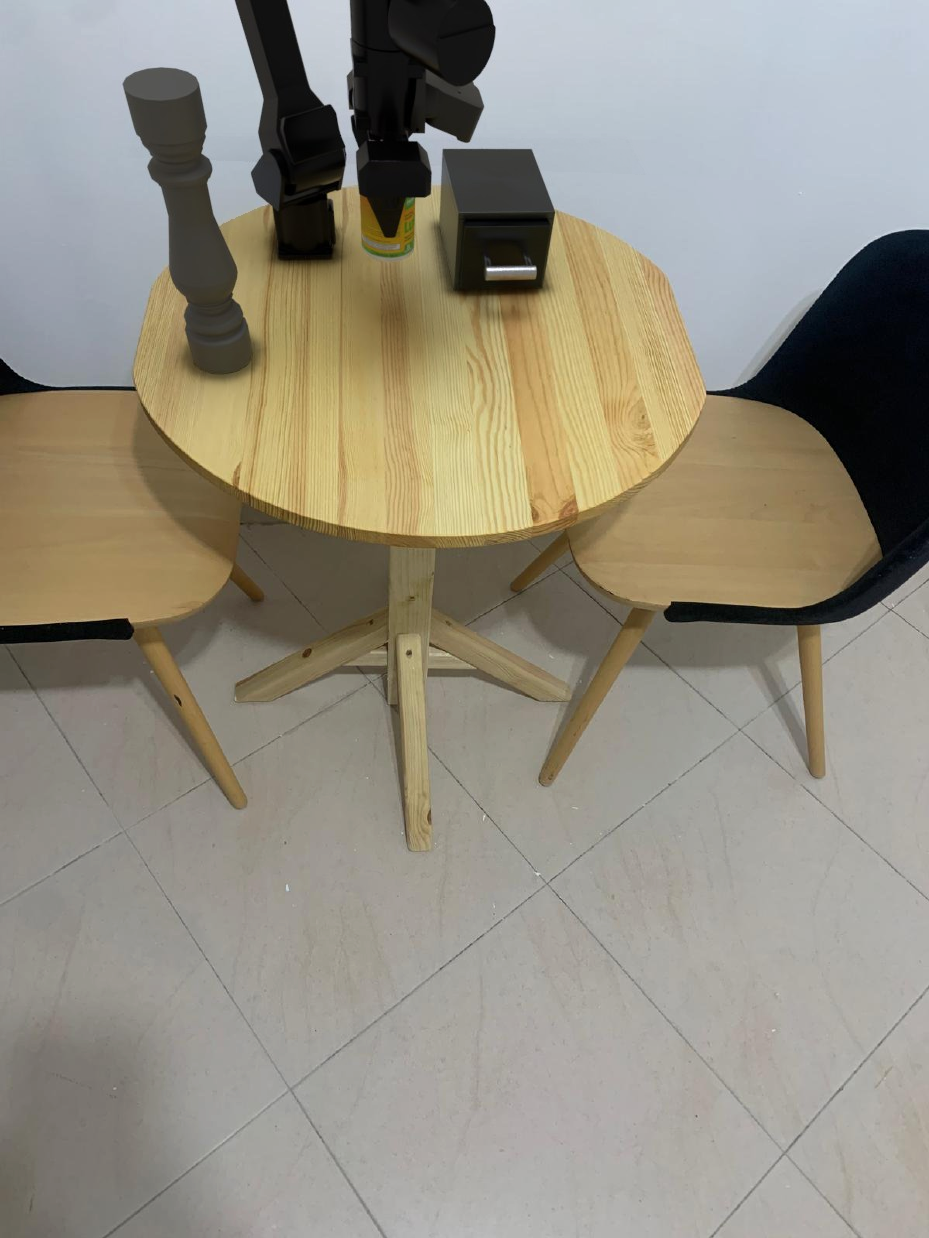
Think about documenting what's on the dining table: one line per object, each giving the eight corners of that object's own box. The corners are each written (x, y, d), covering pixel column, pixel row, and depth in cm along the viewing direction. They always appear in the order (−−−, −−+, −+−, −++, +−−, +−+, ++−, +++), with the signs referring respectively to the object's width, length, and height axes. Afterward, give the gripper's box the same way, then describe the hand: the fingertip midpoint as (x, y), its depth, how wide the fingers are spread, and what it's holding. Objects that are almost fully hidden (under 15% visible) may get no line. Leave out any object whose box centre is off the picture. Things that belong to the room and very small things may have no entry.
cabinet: (542, 288, 91) (555, 211, 83) (453, 290, 89) (458, 212, 82) (521, 224, 98) (531, 148, 91) (439, 225, 97) (442, 148, 89)
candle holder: (192, 376, 78) (116, 103, 57) (191, 337, 81) (120, 66, 61) (254, 371, 79) (202, 101, 58) (251, 334, 82) (201, 65, 62)
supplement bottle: (412, 266, 78) (414, 167, 70) (359, 262, 78) (355, 162, 70) (415, 236, 81) (417, 138, 73) (364, 232, 81) (360, 132, 73)
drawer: (547, 309, 87) (559, 247, 81) (465, 311, 86) (470, 249, 80) (521, 227, 96) (529, 166, 90) (446, 228, 95) (449, 166, 89)
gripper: (499, 91, 60) (480, 275, 73) (465, -5, 70) (455, 172, 83) (355, 89, 59) (362, 277, 72) (342, -9, 69) (350, 172, 82)
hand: (387, 221), depth 77 cm, fingers closed on supplement bottle, 5 cm apart
